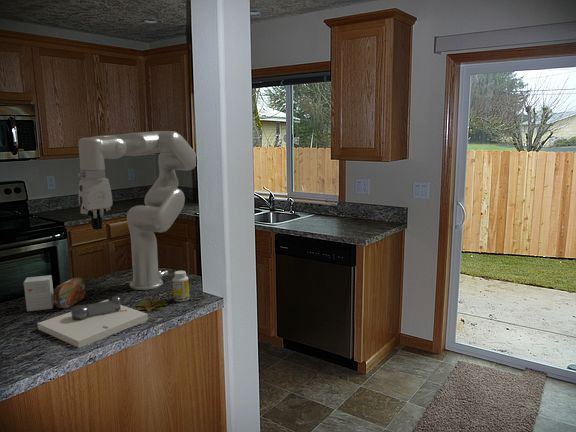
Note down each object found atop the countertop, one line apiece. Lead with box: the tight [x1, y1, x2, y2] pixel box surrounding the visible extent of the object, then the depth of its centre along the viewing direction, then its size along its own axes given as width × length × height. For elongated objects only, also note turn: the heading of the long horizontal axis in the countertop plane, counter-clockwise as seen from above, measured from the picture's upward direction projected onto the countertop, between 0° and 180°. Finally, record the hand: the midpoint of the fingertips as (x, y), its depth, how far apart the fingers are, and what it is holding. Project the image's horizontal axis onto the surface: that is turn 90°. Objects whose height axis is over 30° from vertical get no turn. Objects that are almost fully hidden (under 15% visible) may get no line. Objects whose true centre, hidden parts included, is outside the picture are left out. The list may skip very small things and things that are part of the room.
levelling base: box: [37, 299, 149, 349], centre depth 148 cm, size 24×22×4 cm
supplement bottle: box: [172, 270, 190, 302], centre depth 169 cm, size 6×6×10 cm
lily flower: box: [135, 294, 168, 313], centre depth 164 cm, size 12×12×5 cm
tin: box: [53, 277, 87, 309], centre depth 166 cm, size 15×3×8 cm, turn 168°
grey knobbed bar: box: [70, 296, 121, 320], centre depth 151 cm, size 15×5×4 cm, turn 121°
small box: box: [23, 274, 55, 312], centre depth 162 cm, size 8×6×10 cm
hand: (97, 228), depth 161 cm, fingers closed
